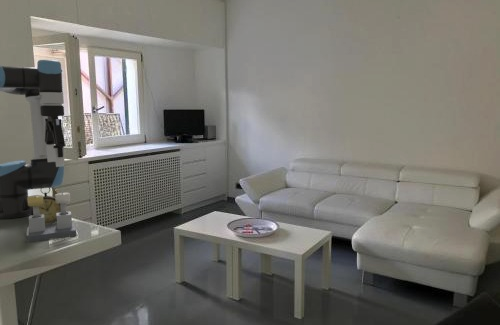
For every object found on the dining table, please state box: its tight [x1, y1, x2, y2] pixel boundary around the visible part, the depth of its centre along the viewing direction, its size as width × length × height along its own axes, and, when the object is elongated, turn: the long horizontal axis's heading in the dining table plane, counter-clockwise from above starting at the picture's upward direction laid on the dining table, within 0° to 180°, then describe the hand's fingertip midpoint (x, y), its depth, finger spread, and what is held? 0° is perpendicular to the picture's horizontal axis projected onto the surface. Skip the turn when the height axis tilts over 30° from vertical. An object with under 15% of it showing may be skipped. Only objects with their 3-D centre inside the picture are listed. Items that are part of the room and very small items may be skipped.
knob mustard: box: [27, 194, 44, 218], centre depth 144 cm, size 5×5×8 cm
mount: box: [25, 211, 77, 243], centre depth 147 cm, size 14×16×7 cm
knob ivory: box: [54, 192, 71, 215], centre depth 148 cm, size 5×5×8 cm
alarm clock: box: [31, 186, 61, 224], centre depth 157 cm, size 11×5×16 cm, turn 119°
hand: (55, 164), depth 143 cm, fingers open, 13 cm apart
